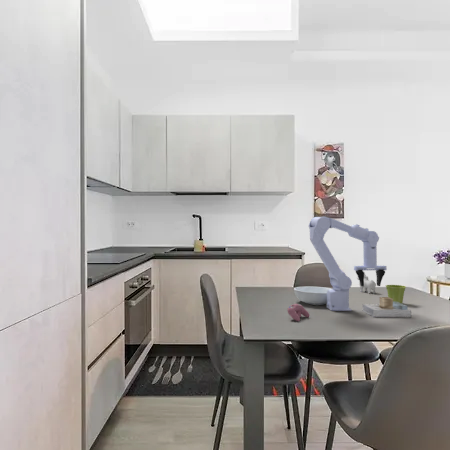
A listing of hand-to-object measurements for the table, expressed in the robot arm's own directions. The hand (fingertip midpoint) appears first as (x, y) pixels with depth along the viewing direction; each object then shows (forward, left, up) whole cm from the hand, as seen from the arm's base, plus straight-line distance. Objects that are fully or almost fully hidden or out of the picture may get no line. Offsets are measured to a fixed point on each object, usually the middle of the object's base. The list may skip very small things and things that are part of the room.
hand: (370, 285), depth 179 cm
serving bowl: (-23, +12, -11) cm, 28 cm away
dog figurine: (+15, +45, -11) cm, 49 cm away
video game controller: (-38, -20, -11) cm, 44 cm away
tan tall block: (+2, -11, -11) cm, 16 cm away
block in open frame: (+2, -11, -10) cm, 15 cm away
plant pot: (+17, +12, -11) cm, 24 cm away
